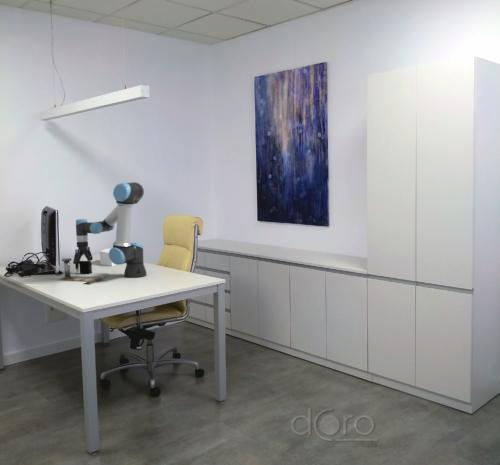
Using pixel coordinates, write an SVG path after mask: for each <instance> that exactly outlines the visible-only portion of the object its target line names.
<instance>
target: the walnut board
mask: <svg viewBox="0 0 500 465" xmlns="http://www.w3.org/2000/svg"><path fill="white" fill-rule="evenodd" d="M71 276H72V279H63V277H60V278H57V279H56V281H58V282H59V281H60V282H62V281H63V282H81V283H82V284H83V285H93V284H95V283H98V282H101V281H103V280H104V277H99V276H80V275H79V276H77V275H71Z"/></svg>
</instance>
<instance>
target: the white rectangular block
mask: <svg viewBox="0 0 500 465" xmlns="http://www.w3.org/2000/svg"><path fill="white" fill-rule="evenodd" d="M110 250H111V248H103V249H102V250H100V251H99V260H100V261H99V262H100V265H102V266H107V267H114V266H116V265H117V264H114V263H113V262H112V261H111V260H110V258H109V251H110Z"/></svg>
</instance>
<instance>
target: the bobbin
mask: <svg viewBox="0 0 500 465" xmlns="http://www.w3.org/2000/svg"><path fill="white" fill-rule="evenodd" d="M71 261H72V258H70V257H69V258H61V262H63V270H64V273H63V274H64V276H63V277H62V278H63V279H72V276H73V275H71Z"/></svg>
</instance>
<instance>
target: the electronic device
mask: <svg viewBox="0 0 500 465" xmlns="http://www.w3.org/2000/svg"><path fill="white" fill-rule="evenodd" d="M79 264H80V273H76V272H75V274H76V275H91V274H92V273H93V268H92V260H91V261H87V260H80V261H79Z"/></svg>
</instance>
